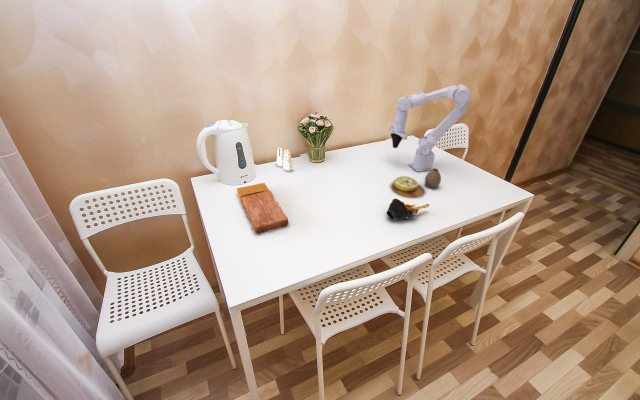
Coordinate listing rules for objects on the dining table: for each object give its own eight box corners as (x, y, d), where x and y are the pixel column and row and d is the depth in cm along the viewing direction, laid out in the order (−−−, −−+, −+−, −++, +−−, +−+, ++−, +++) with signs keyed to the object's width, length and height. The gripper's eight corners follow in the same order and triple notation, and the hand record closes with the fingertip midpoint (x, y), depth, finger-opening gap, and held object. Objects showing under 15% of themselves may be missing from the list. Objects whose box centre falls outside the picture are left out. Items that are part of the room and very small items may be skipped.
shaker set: (295, 171, 146) (294, 151, 140) (288, 173, 144) (287, 153, 138) (282, 162, 154) (281, 143, 148) (275, 164, 152) (274, 144, 145)
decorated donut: (421, 187, 136) (422, 180, 134) (408, 195, 130) (410, 188, 128) (402, 179, 143) (403, 172, 141) (389, 186, 136) (390, 179, 134)
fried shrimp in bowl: (378, 204, 116) (411, 181, 120) (388, 226, 120) (420, 203, 124) (393, 208, 107) (427, 184, 112) (403, 232, 111) (436, 207, 116)
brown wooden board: (265, 188, 132) (265, 181, 130) (289, 226, 110) (289, 219, 108) (237, 194, 127) (236, 187, 125) (255, 235, 105) (254, 228, 103)
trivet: (412, 179, 143) (412, 179, 143) (430, 195, 131) (431, 195, 131) (385, 183, 139) (385, 183, 139) (402, 200, 127) (402, 199, 127)
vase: (436, 191, 134) (441, 174, 129) (421, 186, 137) (426, 170, 132) (440, 185, 139) (445, 168, 134) (425, 180, 142) (430, 164, 137)
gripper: (385, 118, 149) (381, 142, 156) (400, 127, 137) (395, 153, 145) (397, 117, 151) (393, 141, 158) (413, 126, 139) (407, 152, 147)
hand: (395, 147), depth 152 cm, fingers closed
